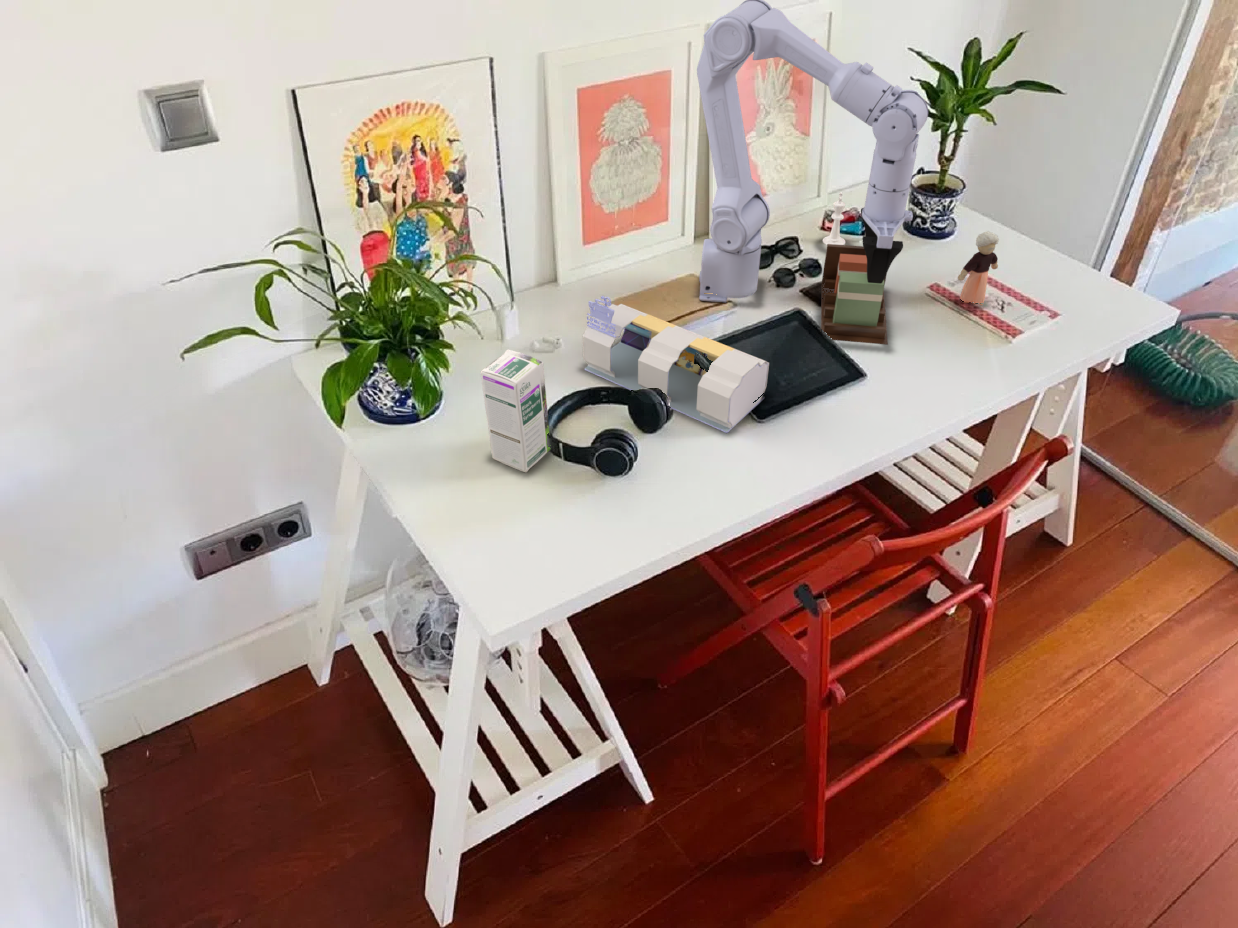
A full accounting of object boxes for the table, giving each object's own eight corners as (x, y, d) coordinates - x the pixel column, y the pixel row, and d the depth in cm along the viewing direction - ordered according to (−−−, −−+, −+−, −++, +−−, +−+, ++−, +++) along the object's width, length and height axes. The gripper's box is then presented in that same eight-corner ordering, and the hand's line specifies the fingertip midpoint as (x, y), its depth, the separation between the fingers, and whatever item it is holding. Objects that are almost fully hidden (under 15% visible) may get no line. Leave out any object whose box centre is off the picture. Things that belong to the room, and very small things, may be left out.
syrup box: (526, 474, 129) (518, 383, 120) (490, 459, 132) (479, 369, 122) (551, 450, 133) (545, 360, 124) (515, 435, 135) (507, 346, 126)
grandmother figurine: (966, 316, 157) (985, 244, 149) (947, 306, 160) (964, 235, 151) (996, 300, 161) (1016, 229, 153) (976, 291, 163) (994, 220, 155)
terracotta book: (833, 300, 160) (839, 261, 155) (833, 292, 161) (839, 253, 157) (872, 303, 159) (879, 264, 154) (871, 295, 161) (878, 256, 156)
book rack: (819, 344, 152) (826, 299, 147) (821, 287, 165) (827, 243, 159) (886, 350, 151) (896, 304, 145) (882, 292, 163) (891, 248, 158)
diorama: (583, 370, 147) (580, 293, 139) (625, 339, 153) (624, 263, 145) (726, 433, 136) (732, 354, 127) (765, 397, 142) (774, 319, 133)
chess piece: (818, 251, 174) (826, 198, 167) (819, 238, 177) (826, 185, 171) (847, 254, 173) (856, 200, 166) (847, 240, 177) (855, 187, 170)
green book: (832, 330, 153) (840, 281, 147) (832, 319, 155) (840, 271, 150) (875, 333, 152) (884, 285, 147) (874, 323, 154) (883, 274, 149)
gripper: (922, 208, 134) (904, 296, 143) (915, 163, 145) (898, 247, 154) (868, 205, 135) (854, 292, 144) (865, 160, 146) (852, 244, 155)
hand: (873, 269), depth 149 cm, fingers open, 7 cm apart
